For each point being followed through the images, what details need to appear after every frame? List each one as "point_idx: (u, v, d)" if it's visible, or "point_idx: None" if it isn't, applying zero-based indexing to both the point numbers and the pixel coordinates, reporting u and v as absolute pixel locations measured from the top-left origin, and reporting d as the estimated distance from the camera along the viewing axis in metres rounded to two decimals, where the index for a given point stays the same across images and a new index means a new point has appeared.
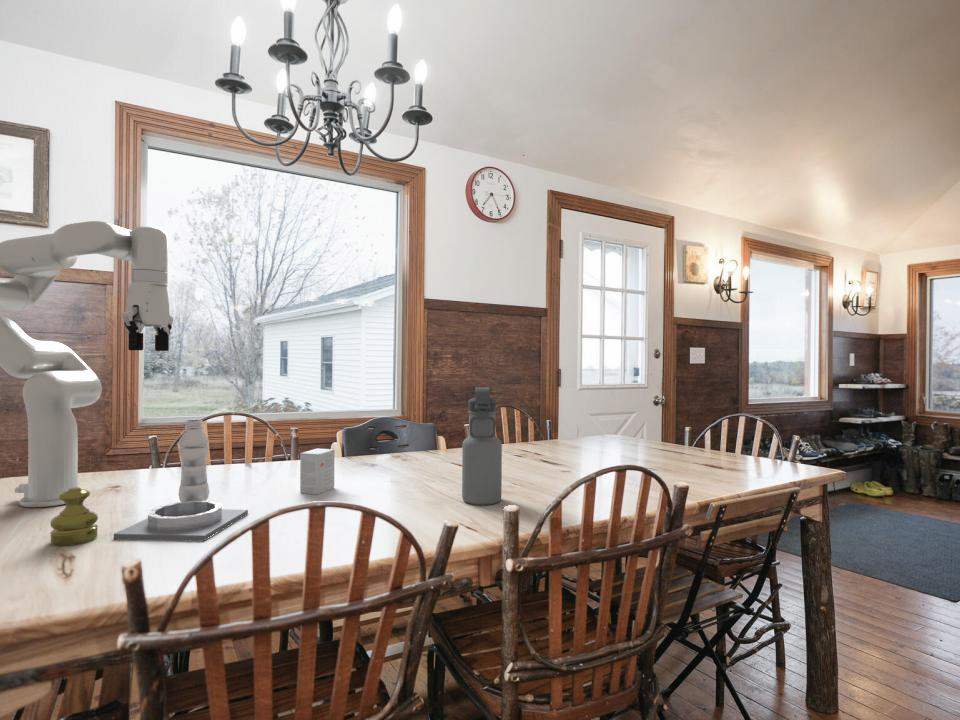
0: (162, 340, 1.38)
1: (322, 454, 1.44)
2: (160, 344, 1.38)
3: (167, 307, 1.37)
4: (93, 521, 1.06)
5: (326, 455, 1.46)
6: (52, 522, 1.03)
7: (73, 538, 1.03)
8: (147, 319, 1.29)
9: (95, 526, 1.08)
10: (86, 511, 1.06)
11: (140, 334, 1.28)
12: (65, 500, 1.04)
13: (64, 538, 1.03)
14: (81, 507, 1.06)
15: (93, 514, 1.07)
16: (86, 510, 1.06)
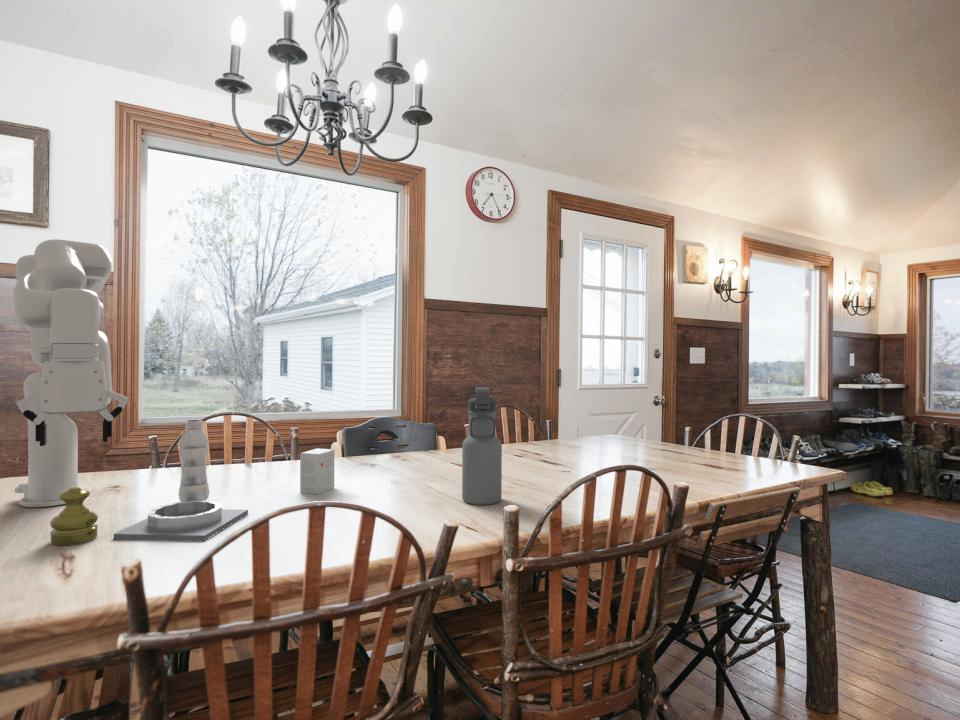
0: (45, 431, 1.04)
1: (322, 454, 1.44)
2: (45, 436, 1.03)
3: None
4: (93, 521, 1.06)
5: (326, 455, 1.46)
6: (52, 522, 1.03)
7: (73, 538, 1.03)
8: None
9: (95, 526, 1.08)
10: (86, 511, 1.06)
11: None
12: (65, 500, 1.04)
13: (64, 538, 1.03)
14: (81, 507, 1.06)
15: (93, 514, 1.07)
16: (86, 510, 1.06)
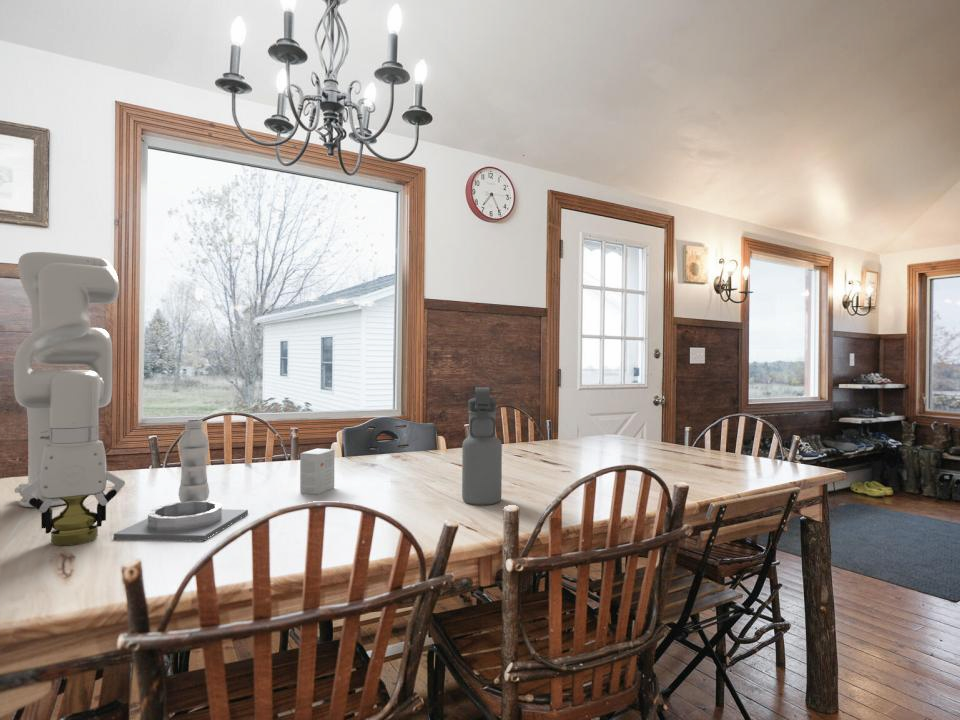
0: (51, 517, 1.05)
1: (322, 454, 1.44)
2: None
3: None
4: (93, 521, 1.06)
5: (326, 455, 1.46)
6: (52, 522, 1.03)
7: (73, 538, 1.03)
8: None
9: (95, 526, 1.08)
10: (86, 511, 1.06)
11: None
12: (65, 500, 1.04)
13: (65, 538, 1.03)
14: (82, 507, 1.06)
15: (93, 514, 1.07)
16: (86, 510, 1.06)
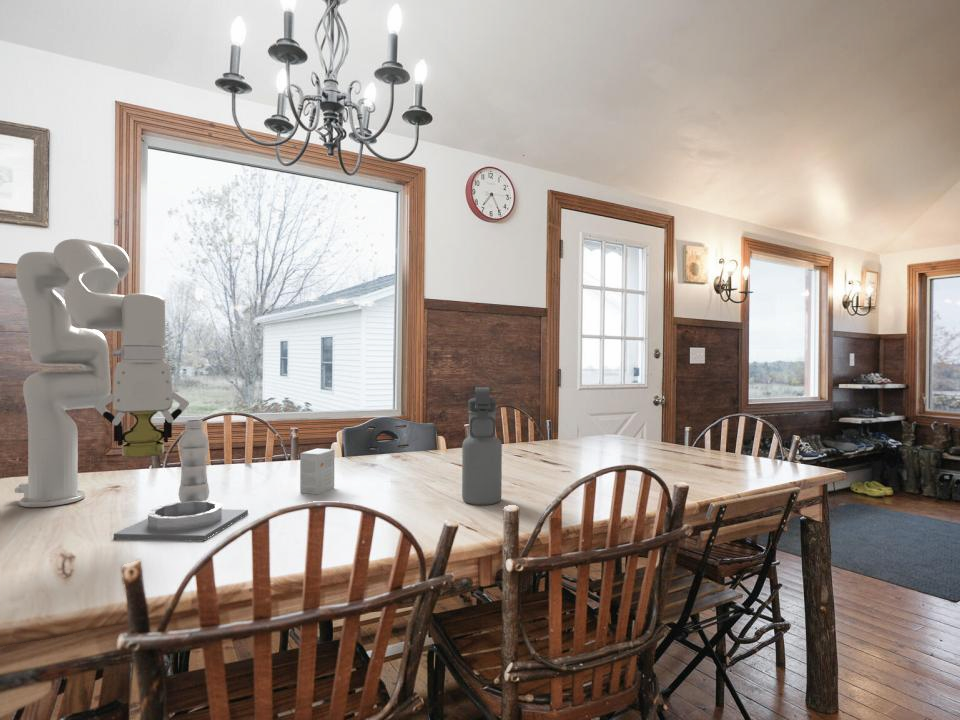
0: (122, 431, 1.10)
1: (322, 454, 1.44)
2: None
3: None
4: (161, 436, 1.11)
5: (326, 455, 1.46)
6: (124, 435, 1.09)
7: (143, 450, 1.08)
8: None
9: (162, 442, 1.13)
10: (154, 427, 1.11)
11: None
12: (135, 415, 1.09)
13: (135, 450, 1.08)
14: (150, 423, 1.11)
15: (160, 430, 1.12)
16: (154, 426, 1.12)
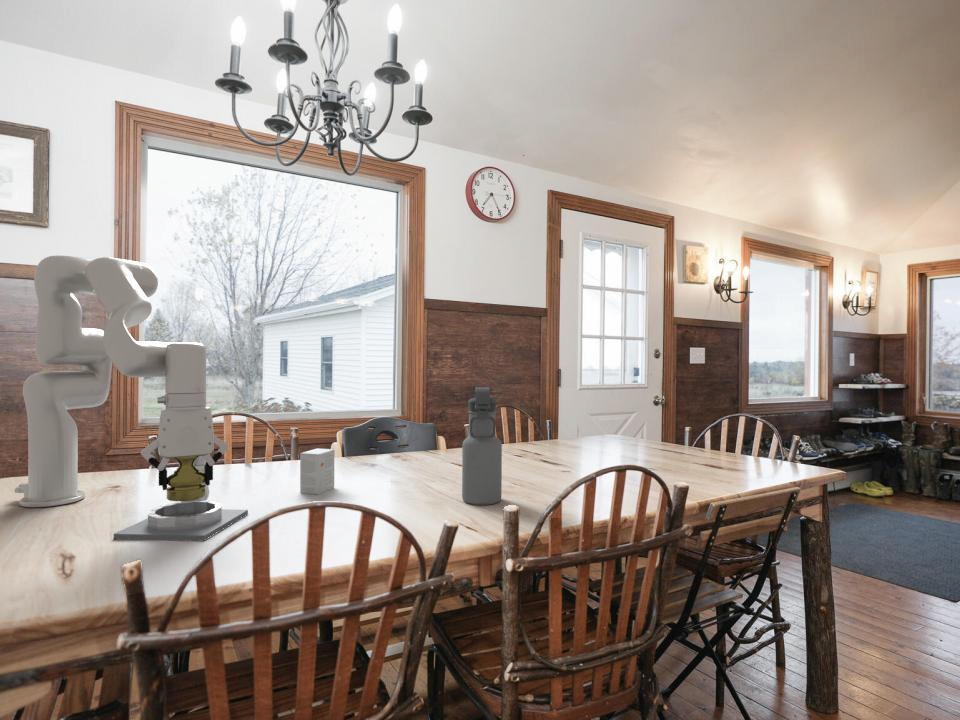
0: None
1: (322, 454, 1.44)
2: None
3: None
4: (203, 480, 1.15)
5: (326, 455, 1.46)
6: (169, 479, 1.12)
7: (188, 494, 1.12)
8: None
9: (204, 485, 1.17)
10: (197, 470, 1.15)
11: None
12: (180, 460, 1.13)
13: (180, 494, 1.12)
14: (193, 467, 1.15)
15: (203, 473, 1.16)
16: (197, 470, 1.16)
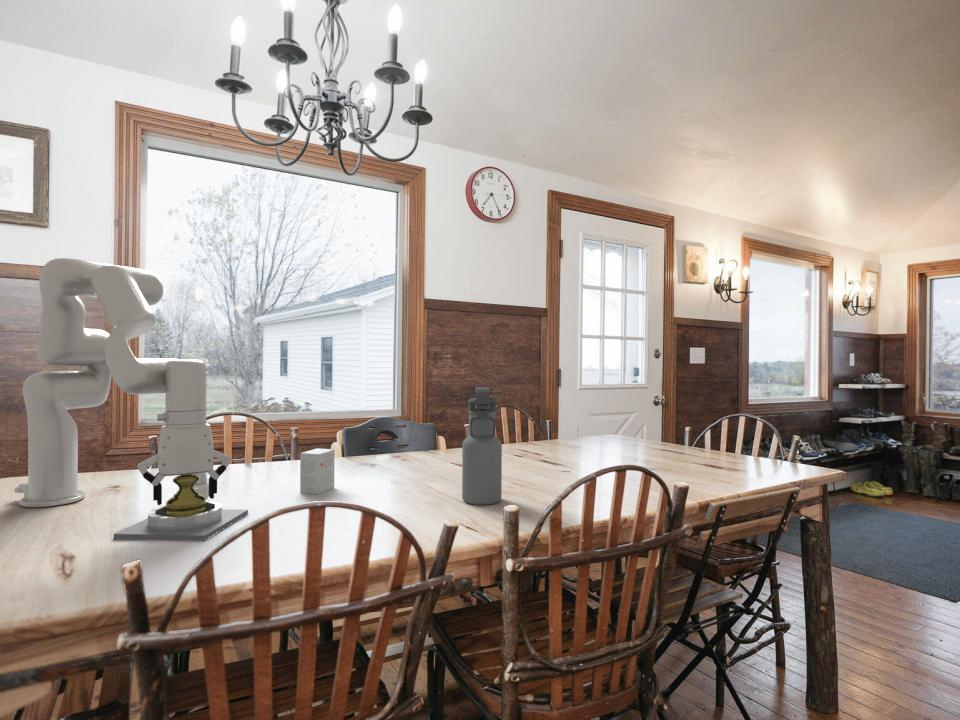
0: None
1: (322, 454, 1.44)
2: None
3: None
4: (203, 503, 1.16)
5: (326, 455, 1.46)
6: (168, 503, 1.13)
7: None
8: None
9: (203, 508, 1.17)
10: (197, 494, 1.16)
11: None
12: (179, 483, 1.13)
13: None
14: (193, 490, 1.15)
15: (202, 497, 1.16)
16: (196, 493, 1.16)
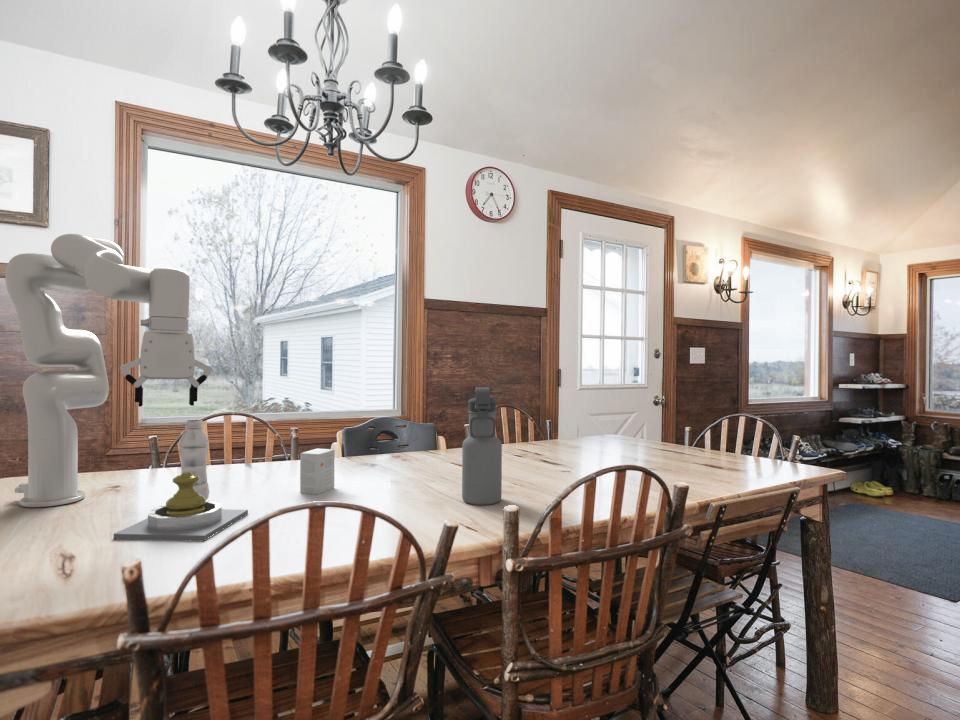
0: None
1: (322, 454, 1.44)
2: None
3: None
4: (203, 503, 1.16)
5: (326, 455, 1.46)
6: (168, 503, 1.13)
7: None
8: None
9: (203, 508, 1.17)
10: (196, 494, 1.16)
11: None
12: (179, 483, 1.13)
13: None
14: (193, 490, 1.15)
15: (202, 497, 1.16)
16: (196, 493, 1.16)
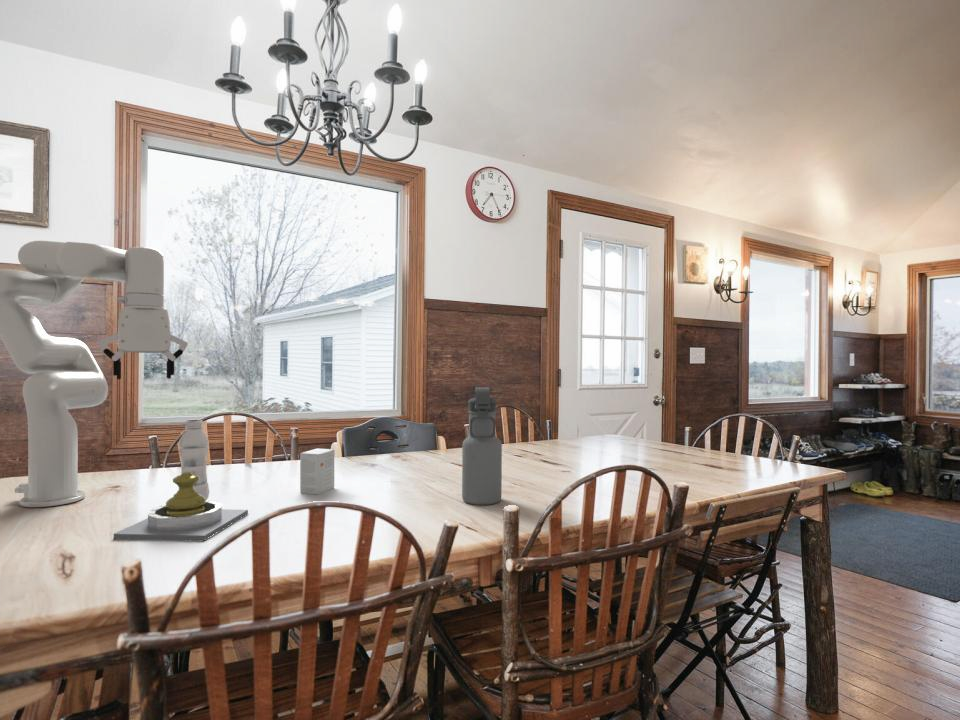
0: None
1: (322, 454, 1.44)
2: None
3: None
4: (203, 503, 1.16)
5: (326, 455, 1.46)
6: (168, 503, 1.13)
7: None
8: None
9: (203, 508, 1.17)
10: (197, 494, 1.16)
11: None
12: (179, 483, 1.13)
13: None
14: (193, 490, 1.15)
15: (202, 497, 1.16)
16: (196, 493, 1.16)
